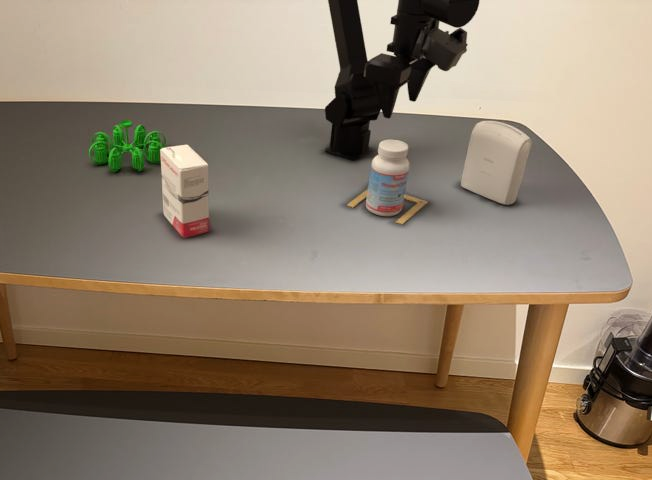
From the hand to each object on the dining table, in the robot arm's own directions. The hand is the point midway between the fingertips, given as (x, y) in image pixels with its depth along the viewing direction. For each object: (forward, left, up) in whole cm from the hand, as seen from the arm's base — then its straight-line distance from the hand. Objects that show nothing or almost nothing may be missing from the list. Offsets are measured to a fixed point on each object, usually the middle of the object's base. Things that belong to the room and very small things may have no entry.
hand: (400, 109), depth 124 cm
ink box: (-19, -34, -13) cm, 41 cm away
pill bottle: (+4, -10, -13) cm, 17 cm away
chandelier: (-43, -22, -13) cm, 50 cm away
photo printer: (+16, +6, -13) cm, 22 cm away
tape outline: (+4, -9, -13) cm, 16 cm away
